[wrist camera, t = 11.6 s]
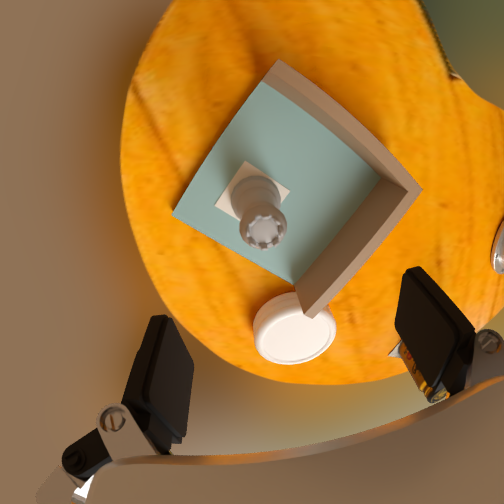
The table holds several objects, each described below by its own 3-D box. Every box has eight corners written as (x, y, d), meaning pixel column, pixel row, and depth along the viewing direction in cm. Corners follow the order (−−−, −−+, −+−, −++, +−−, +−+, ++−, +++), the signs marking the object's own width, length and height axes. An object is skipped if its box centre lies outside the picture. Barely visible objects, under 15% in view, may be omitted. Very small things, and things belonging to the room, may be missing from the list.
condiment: (414, 323, 36) (450, 378, 26) (438, 331, 38) (470, 378, 28) (387, 354, 39) (414, 410, 29) (413, 359, 41) (440, 407, 31)
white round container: (342, 297, 32) (352, 315, 29) (310, 350, 37) (315, 369, 34) (267, 281, 31) (271, 300, 27) (243, 341, 35) (244, 361, 32)
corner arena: (389, 173, 25) (422, 189, 20) (299, 284, 31) (312, 319, 25) (267, 72, 20) (278, 58, 15) (173, 211, 26) (158, 237, 20)
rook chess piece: (288, 204, 25) (310, 241, 18) (248, 229, 26) (254, 274, 19) (262, 164, 23) (276, 186, 16) (220, 192, 24) (216, 225, 17)
